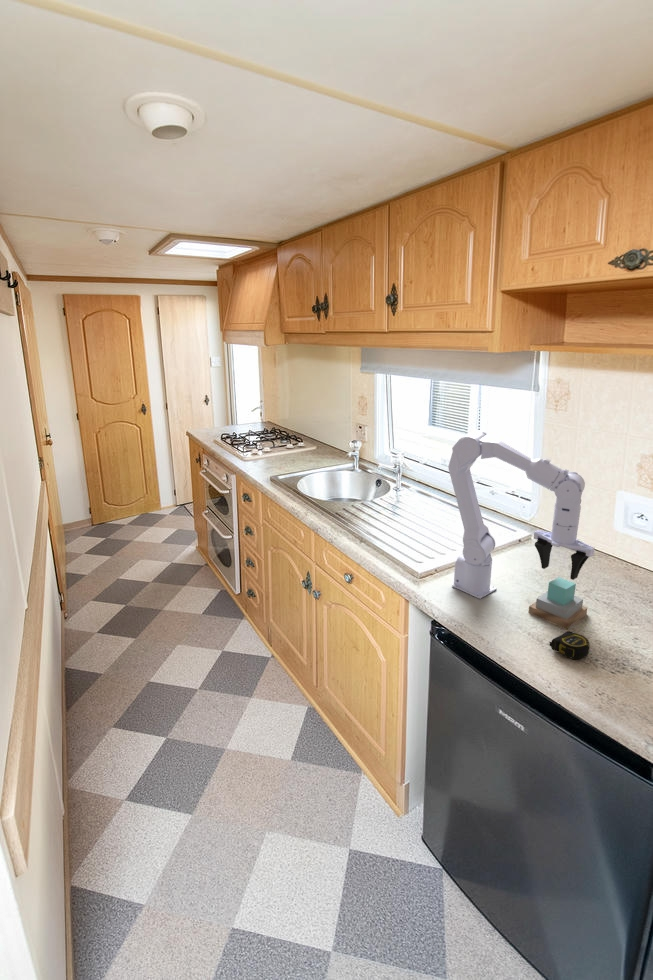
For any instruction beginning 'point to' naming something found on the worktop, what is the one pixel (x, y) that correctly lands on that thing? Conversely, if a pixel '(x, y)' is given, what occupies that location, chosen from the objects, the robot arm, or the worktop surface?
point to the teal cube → (561, 591)
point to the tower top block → (559, 606)
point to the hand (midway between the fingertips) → (559, 572)
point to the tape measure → (571, 645)
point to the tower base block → (556, 619)
